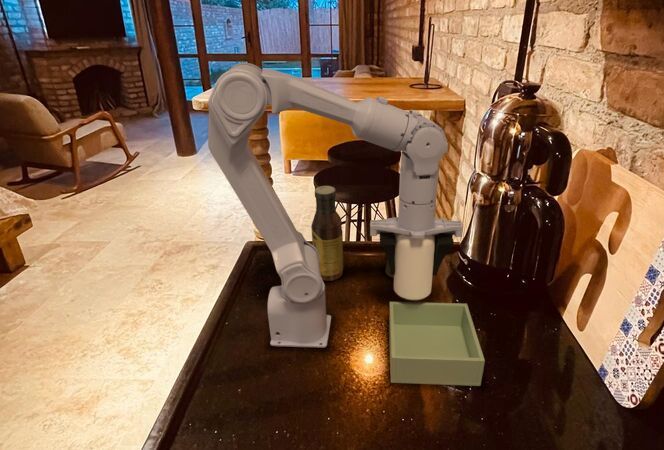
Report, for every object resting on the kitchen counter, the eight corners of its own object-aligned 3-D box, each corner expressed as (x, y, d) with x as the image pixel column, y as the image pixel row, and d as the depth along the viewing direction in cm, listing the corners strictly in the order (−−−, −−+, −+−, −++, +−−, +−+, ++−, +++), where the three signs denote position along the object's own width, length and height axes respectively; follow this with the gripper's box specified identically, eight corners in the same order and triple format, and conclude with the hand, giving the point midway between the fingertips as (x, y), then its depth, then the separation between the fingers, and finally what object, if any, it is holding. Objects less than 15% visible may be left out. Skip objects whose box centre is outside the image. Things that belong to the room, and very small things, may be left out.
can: (430, 303, 67) (435, 239, 62) (391, 299, 68) (392, 235, 63) (431, 282, 73) (436, 221, 67) (395, 278, 74) (397, 218, 69)
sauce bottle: (318, 265, 90) (313, 181, 81) (345, 267, 89) (343, 182, 81) (311, 282, 84) (305, 194, 76) (341, 284, 84) (338, 195, 75)
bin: (390, 382, 61) (391, 357, 58) (388, 324, 72) (389, 301, 70) (480, 386, 60) (485, 360, 58) (463, 326, 72) (467, 303, 69)
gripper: (370, 207, 59) (369, 284, 65) (470, 208, 59) (460, 286, 65) (370, 189, 66) (370, 261, 72) (461, 190, 65) (453, 262, 71)
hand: (412, 271), depth 69 cm, fingers closed on can, 6 cm apart
